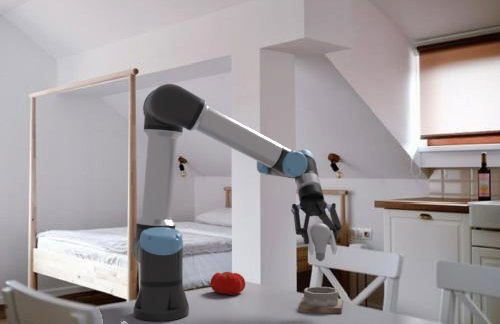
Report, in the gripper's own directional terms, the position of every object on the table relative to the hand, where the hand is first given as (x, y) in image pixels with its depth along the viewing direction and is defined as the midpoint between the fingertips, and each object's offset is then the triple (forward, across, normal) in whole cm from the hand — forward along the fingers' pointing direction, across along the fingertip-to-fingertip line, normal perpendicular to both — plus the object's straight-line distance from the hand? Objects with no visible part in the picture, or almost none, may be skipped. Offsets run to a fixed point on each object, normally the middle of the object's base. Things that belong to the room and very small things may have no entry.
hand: (323, 251), depth 173 cm
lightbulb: (0, 0, -5) cm, 5 cm away
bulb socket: (+9, 0, -14) cm, 17 cm away
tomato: (-7, +25, -31) cm, 40 cm away
